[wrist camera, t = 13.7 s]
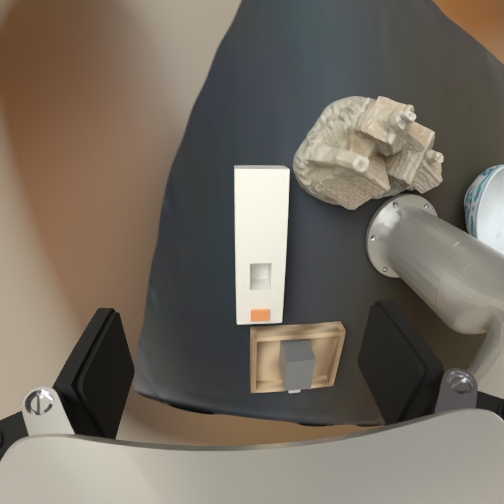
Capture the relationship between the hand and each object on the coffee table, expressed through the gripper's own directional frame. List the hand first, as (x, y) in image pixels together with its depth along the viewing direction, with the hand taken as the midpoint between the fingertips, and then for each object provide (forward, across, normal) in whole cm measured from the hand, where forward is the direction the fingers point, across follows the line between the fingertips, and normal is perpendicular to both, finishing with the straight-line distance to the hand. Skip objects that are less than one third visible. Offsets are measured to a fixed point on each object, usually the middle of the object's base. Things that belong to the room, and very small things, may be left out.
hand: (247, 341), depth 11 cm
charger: (+25, -9, +30) cm, 40 cm away
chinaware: (+28, -39, 0) cm, 48 cm away
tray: (+28, -9, +26) cm, 39 cm away
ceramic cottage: (+29, -16, -4) cm, 33 cm away
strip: (+28, -3, +7) cm, 29 cm away
